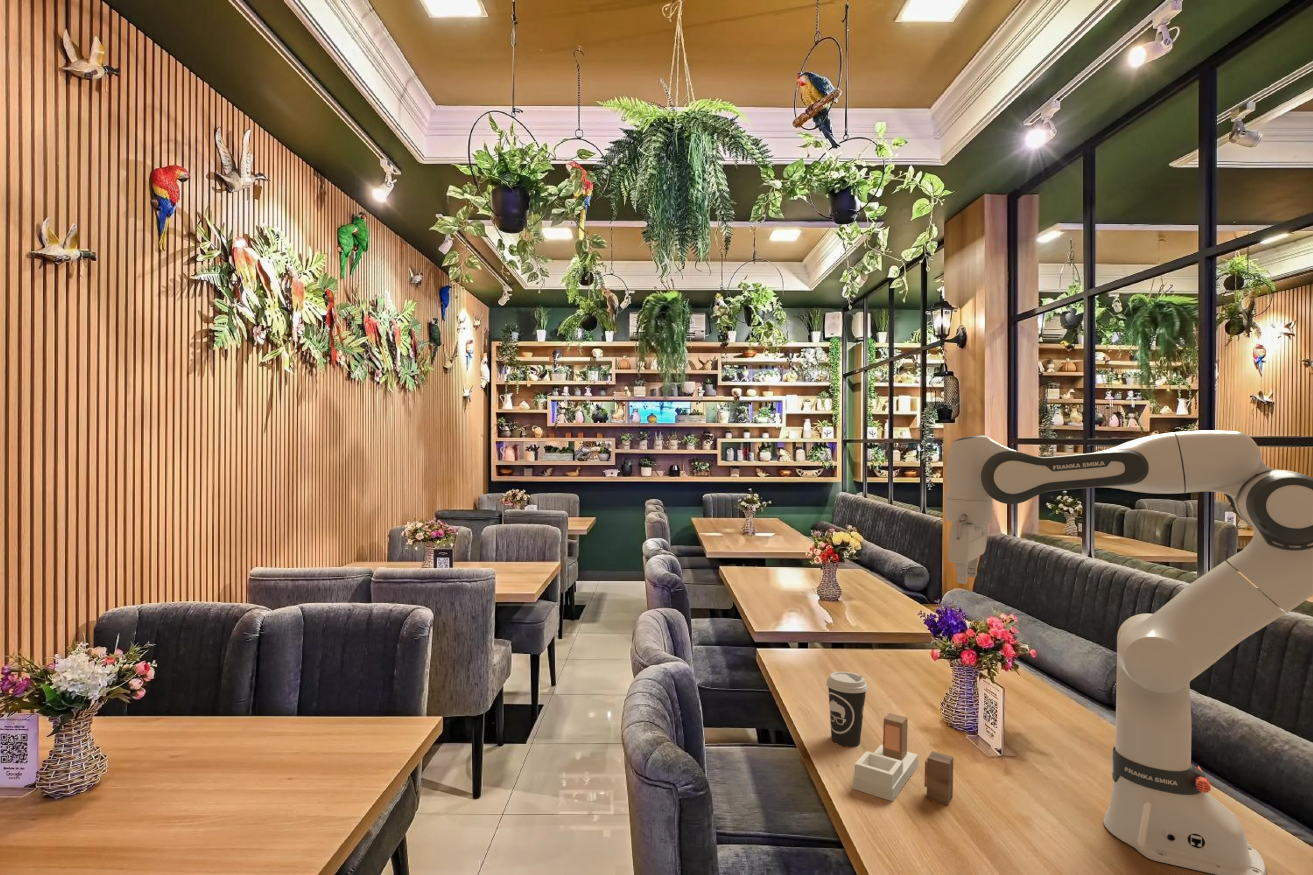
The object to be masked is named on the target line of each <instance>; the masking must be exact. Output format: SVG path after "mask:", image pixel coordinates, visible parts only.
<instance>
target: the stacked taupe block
mask: <svg viewBox="0 0 1313 875" xmlns="http://www.w3.org/2000/svg"><path fill="white" fill-rule="evenodd" d="M923 784H924V785H923V786H924V788H926V799H927V800H929V801H931V802H932V801H933V802H936V803H939V804H943V805H946V806H949V805H950V803H951V801H952V799H953V798H954V797H953V796H954V795H953V794H954V791H953V790H954V756H953V755H949V754H945V753H941V752H937V751H934V750H932V751H931V752H930V753H929V755H928V756H927V757H926V759H925V761H924V782H923Z"/></svg>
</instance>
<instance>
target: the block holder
mask: <svg viewBox="0 0 1313 875" xmlns="http://www.w3.org/2000/svg"><path fill="white" fill-rule="evenodd" d="M908 718H909V717H907V716H904V715H899V714H895V713H891V712H888V713H887V715H886V716H884V717H883V727H882V728H883V729H882V731H883V732H882V744H880V745H879V746H878V747H877V748H876V749H875V751H874V752H872V751H869V750H866V751H865V752H864V753H863V754H862V755H861V756H860V758H858V760H857V761H856V762H855V763H854V774H853V776H852V790H856V791H857V792H858V791H859V792H861V793H863V794H864V793H865V794H868V795H870V796H874V797H876V798H881V799H883V800H887V801H890V802H894V800H895V799H896V798H897V797H898V795H899V793H900V792H901V791H902V790H903V788H904V787H903V786H905V785H906V784H907V782H908V781H909V780H910V778H911V777H910V776H913V774H914V772H915V771H916V769H917V768H918V766H919V754H917V753H915V752H911V751H908V724H909V723H908V720H909V719H908ZM912 773H913V774H912ZM907 780H908V781H907ZM905 783H906V784H905ZM902 787H903V788H902ZM900 790H901V791H900Z"/></svg>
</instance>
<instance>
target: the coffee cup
mask: <svg viewBox="0 0 1313 875" xmlns="http://www.w3.org/2000/svg"><path fill="white" fill-rule="evenodd" d="M825 684H826V687H828V689H827V690H828V703H829V716H830V717H829V719H830V737H831V741H832V743H834V744H836V745H839V746H842V747H846V746H851V747H850V748H854V746H855V747H858V746H859V745H860V744H861V737H862V729H863V719H864V709H865V701H866V693H867V691H868V690H869V687H868V683H867V681H866V680H865V677H863V675H860V674H858V673H855V672H850V671H833V672H831V673H830V675H829V677H828V678H827V680H826V682H825ZM852 746H853V747H852Z"/></svg>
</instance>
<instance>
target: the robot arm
mask: <svg viewBox="0 0 1313 875" xmlns="http://www.w3.org/2000/svg"><path fill="white" fill-rule="evenodd" d="M945 473H946V475H945V477H946V482H947V490H946V491H947V492H946V494H945V517H944V518H945V521H948V522H951V525H950V528H949V536H948V552H947V554H948V555H947V556H948V561H949V562H950V563H954V564H955V567H954V568H955V571H956V572H955V573H956V582H957V584H962V585H965V584H967V583H968V581H969V578H976V577H977V574H978V572H977V571H978V565H979V561H980V558H979V557H980V556H982V555H983V554H985V552H986V549H987V542H988V534H989V524H992V523H993V500H995V501H996V502H999V503H1002V504H1005V505H1017V504H1021V503H1025V502H1026V501H1027V502H1028V501H1029V500H1032V499H1033V498H1034V497H1037V496H1039V495H1041V494H1045V493H1049V492H1055V491H1067V490H1079V489H1089V488H1091V489H1092V488H1109V489H1110V488H1111V489H1116V490H1117V489H1118V490H1119V489H1120V490H1124V491H1129V492H1130V491H1131V492H1133V493H1134V492H1136V493H1145V494H1157V495H1158V494H1164V495H1165V494H1167V495H1168V494H1170V495H1171V494H1174V495H1175V494H1188V493H1189V494H1190V493H1201V492H1203V493H1204V492H1205V493H1206V492H1209V493H1210V492H1213V493H1214V492H1215V493H1221V494H1224V496H1225V497H1226V498H1227V500H1228V502H1229V504H1230V506H1231V508H1232V509H1233V511H1234V513H1235V514H1236V515H1237V516H1238V517H1239V519H1241V521H1243V522H1244V523H1246V524H1247V525H1249V526H1250V527H1251V528H1253V535H1252V538H1251V539H1250V541H1249V542H1248V544H1246V546H1245V547H1244V548H1243V549H1242V550H1240V551H1238V552H1237V553H1235V554H1233V555H1232V556H1230V557H1228V558H1227V559H1226V560H1224V561H1222V562H1221V563H1219V564H1218V565H1216V566H1215V567H1213V568H1212V569H1210V570H1208V571H1207V572H1206V573H1204V574H1203V575H1202V576H1200V577H1199V578H1196V580H1194V581H1193V582H1190V583H1189V584H1188V585H1186V586H1185V587H1184V588H1182V590H1180V591H1179V592H1178V593H1177V594H1176V595H1175V596H1174V597H1173V598H1172V599H1170V600H1169V601H1168V602H1166V604H1164V605H1163V606H1161V607H1160V608H1159V609H1158V610H1156V611H1155V612H1154V613H1139V614H1135V615H1133V616H1130V617H1129V618H1127V619H1126V620H1124V621H1123V623H1122V624H1120V627H1119V628H1118V631H1117V635H1116V695H1115V696H1116V697H1115V699H1116V700H1115V701H1116V702H1115V706H1116V707H1115V745H1114V747H1113V748H1112V753H1111V775H1112V776H1111V778H1112V780H1113V783H1112V789H1111V795H1110V800H1109V804H1108V807H1107V810H1106V813H1105V815H1104V818H1103V825H1104V826H1105V828H1106V829H1107V831H1109V833H1111V834H1112V835H1113V836H1114V837H1116V838H1117V839H1119V840H1121V841H1122V842H1124V843H1125V844H1127V845H1129V846H1131V847H1133V848H1134V849H1136V851H1138V852H1139V853H1140V854H1141V855H1143V857H1145V858H1147V859H1149V860H1152V861H1155V862H1159V863H1164V864H1168V865H1172V866H1177V867H1181V868H1186V869H1190V870H1194V871H1199V872H1203V873H1208V874H1211V875H1212V874H1213V875H1267V874H1266V873H1267V872H1266V871H1267V870H1266V865H1265V861H1264V860H1263V857H1262V855H1261V854H1260V852H1259V851H1258V850H1257V849H1256V848H1255V847H1253V846H1252V844H1250V843H1248V840H1247V836H1246V833H1245V830H1244V828H1243V825H1242V824H1241V822H1240V820H1239V819H1238V817H1237V816H1236V815H1235V814H1234V813H1233V812H1232V811H1231V810H1230V809H1228V808H1227V807H1226V806H1225V805H1224V804H1222V802H1220V801H1219V800H1218V799H1216V798H1215V797H1214V796H1213V795H1212V794H1210V793H1209V792H1211V789H1212V787H1211V782H1210V781H1209V779H1207V778H1206V774H1205V772H1203V771H1202V769H1201V767H1200V766H1199V765H1198V766H1197V767H1196V766H1195V764H1192V712H1191V711H1192V709H1191V706H1192V705H1191V686H1190V684H1191V683H1190V682H1191V681H1192V680H1194V679H1195V678H1196V677H1198V676H1199V675H1201V674H1202V673H1203V672H1205V671H1206V670H1207V669H1209V668H1210V667H1211V666H1212V665H1214V664H1215V663H1217V661H1218V660H1220V659H1221V658H1222V657H1224V656H1225V655H1226V654H1227V653H1229V651H1231V649H1232V650H1233V648H1235V646H1237V645H1239V643H1241V642H1242V641H1244V640H1245V639H1247V638H1249V637H1250V636H1252V635H1254V634H1255V633H1256V632H1258V631H1260V630H1262V629H1263V628H1265V627H1266V626H1267V625H1269V624H1271V623H1273V622H1274V621H1276V620H1278V619H1280V618H1281V617H1283V616H1284V615H1285V614H1288V613H1289V612H1291V611H1292V610H1294V609H1295V608H1297V607H1298V606H1300V605H1301V604H1303V602H1305V601H1307V600H1308V599H1309V598H1311V596H1313V476H1311V475H1308V474H1305V473H1300V472H1297V471H1293V470H1287V469H1277V468H1272V467H1269V466H1267V465H1266V463H1265V462H1264V460H1263V459H1262V453H1261V450H1260V448H1259V446H1258V444H1257V442H1255V441H1254V439H1253V438H1252V437H1250V436H1249V435H1248V434H1246V433H1244V432H1241V431H1236V430H1214V429H1213V430H1211V429H1209V430H1186V431H1175V432H1173V431H1171V432H1166V433H1160V434H1159V433H1158V434H1152V435H1147V436H1144V437H1139V438H1135V439H1132V440H1128V441H1126V442H1124V443H1121V444H1119V445H1116V446H1113V447H1111V448H1107V449H1104V450H1100V451H1095V452H1089V453H1088V452H1087V453H1079V454H1078V453H1077V454H1067V455H1058V456H1055V455H1054V456H1035V455H1031V454H1028V453H1024V452H1020V451H1018V450H1015V449H1013V448H1009V447H1007V446H1005V445H1003V444H1001V443H999V442H997V441H995V440H993V439H992V438H991V437H990V436H989V435H983V434H981V435H980V434H979V435H970V436H965V437H960V438H957V439H955V440H953V441H952V443H950V446H949V447H948V453H947V460H946V472H945Z"/></svg>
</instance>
